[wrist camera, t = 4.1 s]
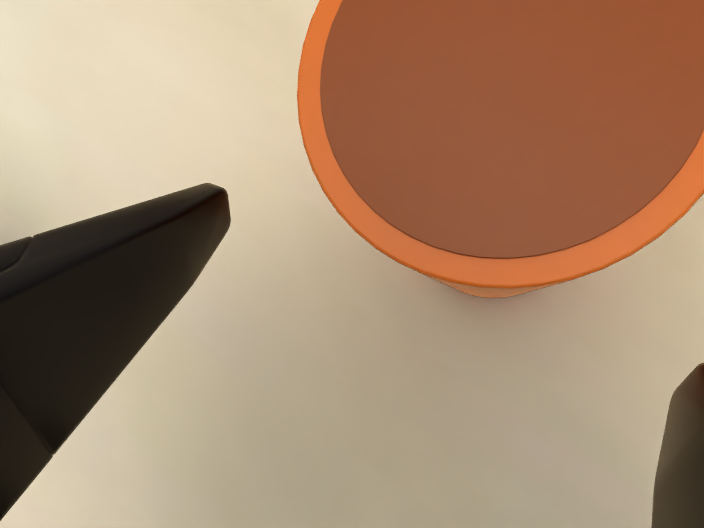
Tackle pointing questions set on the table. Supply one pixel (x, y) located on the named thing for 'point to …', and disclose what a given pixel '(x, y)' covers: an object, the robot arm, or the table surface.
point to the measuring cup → (506, 131)
